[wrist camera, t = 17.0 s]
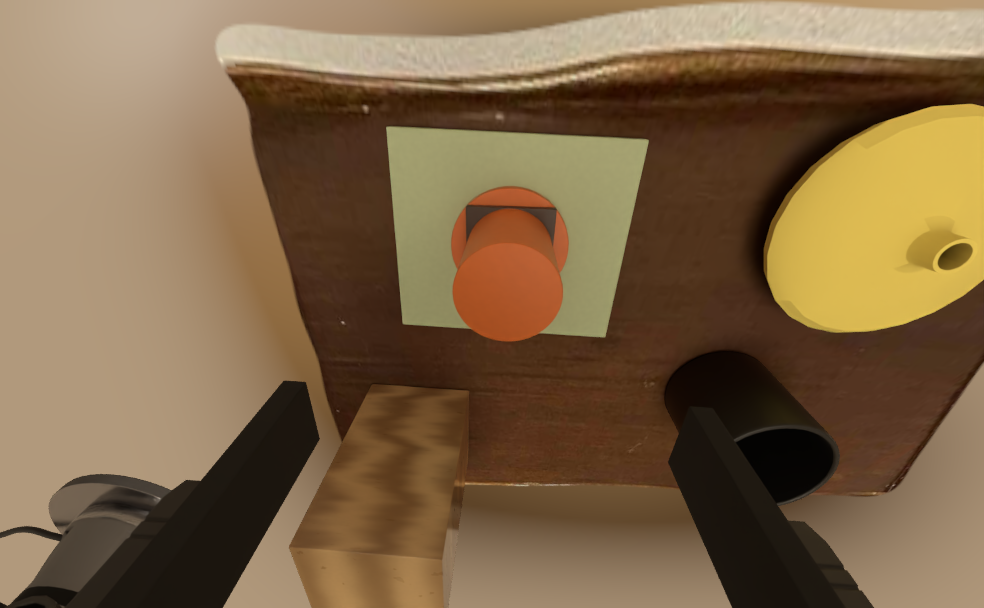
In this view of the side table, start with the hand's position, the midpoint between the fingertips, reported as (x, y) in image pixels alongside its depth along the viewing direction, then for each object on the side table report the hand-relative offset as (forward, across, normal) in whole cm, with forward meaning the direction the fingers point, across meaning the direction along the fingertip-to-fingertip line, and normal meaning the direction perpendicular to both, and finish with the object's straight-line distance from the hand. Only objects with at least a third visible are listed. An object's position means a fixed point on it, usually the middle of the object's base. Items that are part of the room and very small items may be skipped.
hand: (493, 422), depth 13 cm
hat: (+18, 0, 0) cm, 18 cm away
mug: (+20, +22, -14) cm, 33 cm away
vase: (+19, +26, +3) cm, 33 cm away
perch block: (+20, -8, -21) cm, 30 cm away
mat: (+19, 0, 0) cm, 19 cm away
